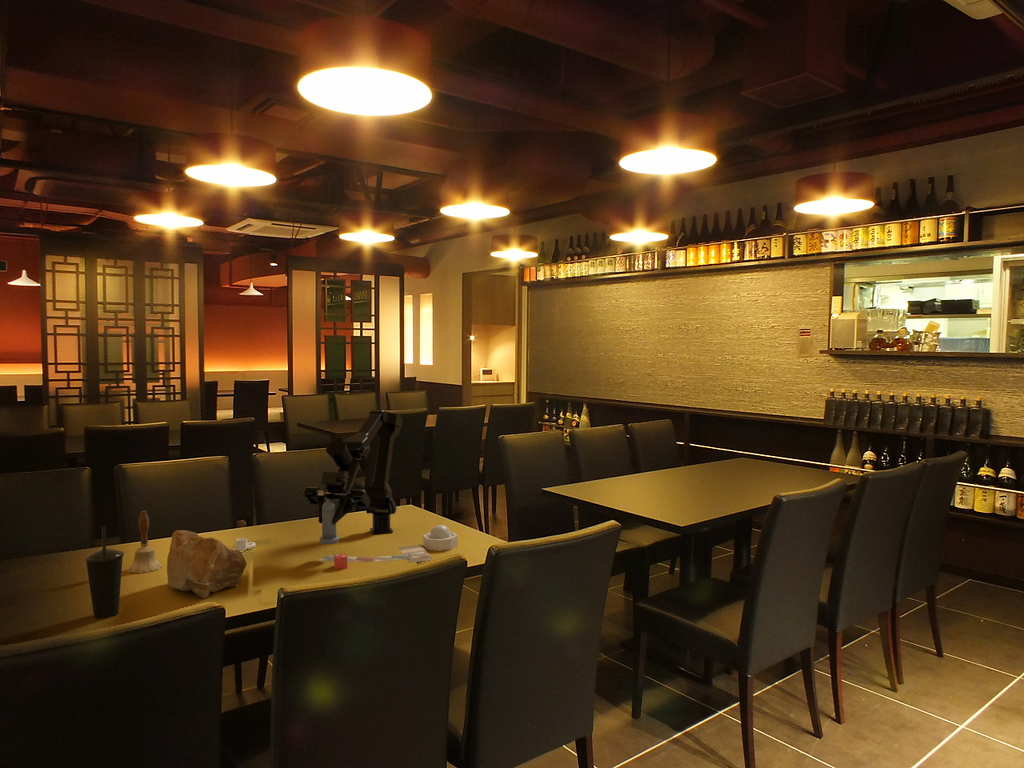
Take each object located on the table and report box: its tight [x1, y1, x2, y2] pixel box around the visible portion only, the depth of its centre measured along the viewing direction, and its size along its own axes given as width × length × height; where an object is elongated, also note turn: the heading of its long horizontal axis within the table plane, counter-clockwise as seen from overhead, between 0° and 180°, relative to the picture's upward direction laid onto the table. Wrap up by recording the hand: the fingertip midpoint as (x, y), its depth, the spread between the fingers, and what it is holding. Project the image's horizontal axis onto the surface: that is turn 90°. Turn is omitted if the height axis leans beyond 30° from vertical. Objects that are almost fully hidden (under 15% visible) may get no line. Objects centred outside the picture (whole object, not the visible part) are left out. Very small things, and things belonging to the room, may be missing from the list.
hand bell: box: [127, 510, 163, 574], centre depth 190 cm, size 8×8×16 cm
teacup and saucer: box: [233, 537, 256, 551], centre depth 206 cm, size 9×8×4 cm
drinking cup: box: [84, 526, 125, 619], centre depth 157 cm, size 8×8×20 cm
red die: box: [333, 553, 348, 570], centre depth 187 cm, size 3×3×3 cm
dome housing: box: [422, 531, 458, 552], centre depth 211 cm, size 10×10×3 cm
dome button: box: [428, 524, 452, 539], centre depth 211 cm, size 7×7×6 cm
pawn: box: [319, 500, 340, 545], centre depth 194 cm, size 5×5×11 cm
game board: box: [318, 544, 434, 565], centre depth 196 cm, size 16×30×1 cm, turn 110°
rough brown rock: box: [166, 529, 247, 599], centre depth 174 cm, size 23×16×15 cm
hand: (326, 523), depth 193 cm, fingers closed on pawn, 4 cm apart
